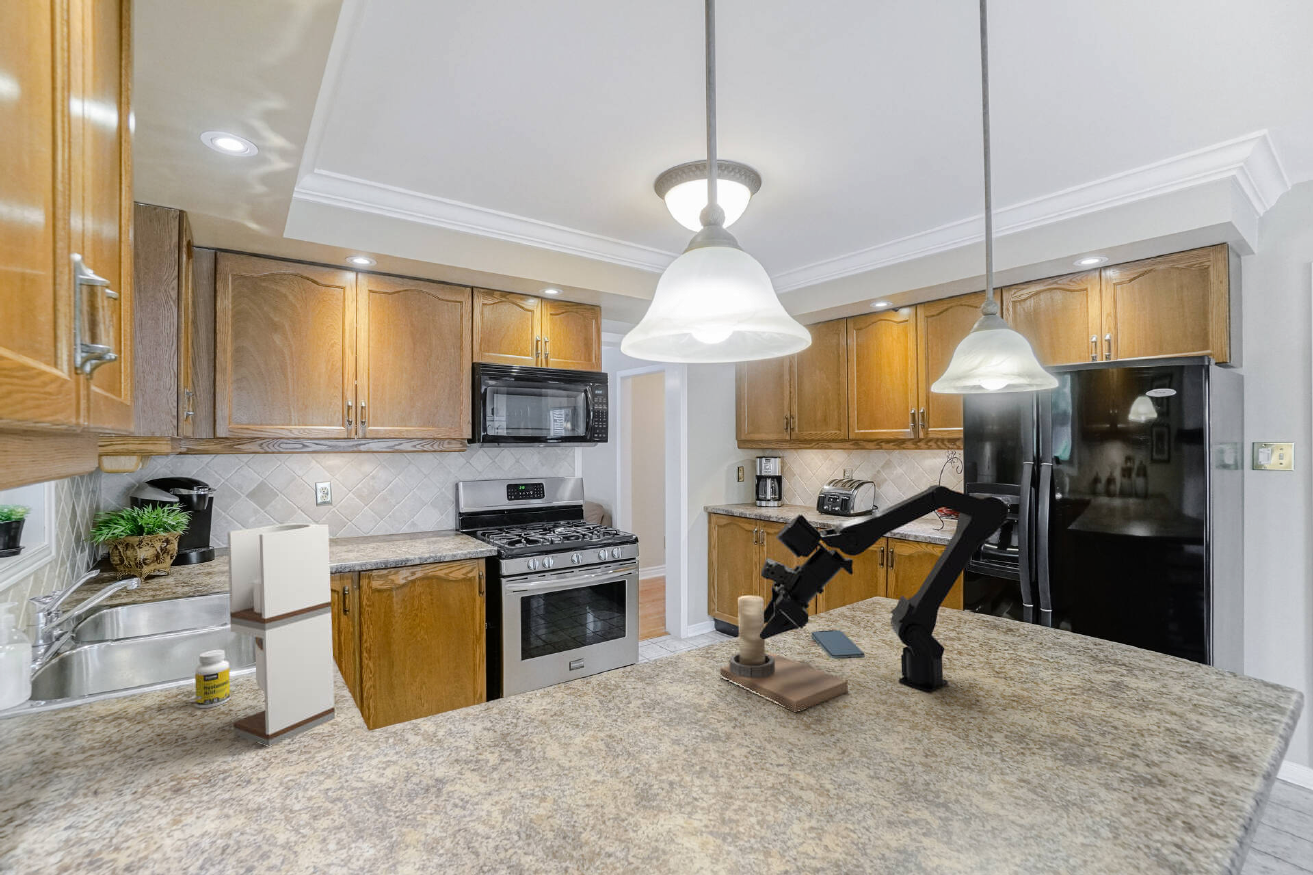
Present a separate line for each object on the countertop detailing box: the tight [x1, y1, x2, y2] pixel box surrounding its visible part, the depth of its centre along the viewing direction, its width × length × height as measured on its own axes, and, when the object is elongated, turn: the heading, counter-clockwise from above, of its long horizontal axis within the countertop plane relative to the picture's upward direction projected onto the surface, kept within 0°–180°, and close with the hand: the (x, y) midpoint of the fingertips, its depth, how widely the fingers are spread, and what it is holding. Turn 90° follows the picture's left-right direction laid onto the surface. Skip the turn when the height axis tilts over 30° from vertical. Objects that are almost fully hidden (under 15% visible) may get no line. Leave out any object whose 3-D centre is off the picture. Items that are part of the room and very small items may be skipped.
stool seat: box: [719, 652, 849, 713], centre depth 117 cm, size 20×14×4 cm
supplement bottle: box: [194, 649, 231, 709], centre depth 118 cm, size 5×5×10 cm
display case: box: [227, 522, 336, 746], centre depth 107 cm, size 11×11×35 cm
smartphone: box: [811, 629, 865, 660], centre depth 138 cm, size 8×2×15 cm
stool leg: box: [737, 595, 766, 666], centre depth 120 cm, size 5×5×14 cm
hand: (760, 629), depth 120 cm, fingers open, 9 cm apart
